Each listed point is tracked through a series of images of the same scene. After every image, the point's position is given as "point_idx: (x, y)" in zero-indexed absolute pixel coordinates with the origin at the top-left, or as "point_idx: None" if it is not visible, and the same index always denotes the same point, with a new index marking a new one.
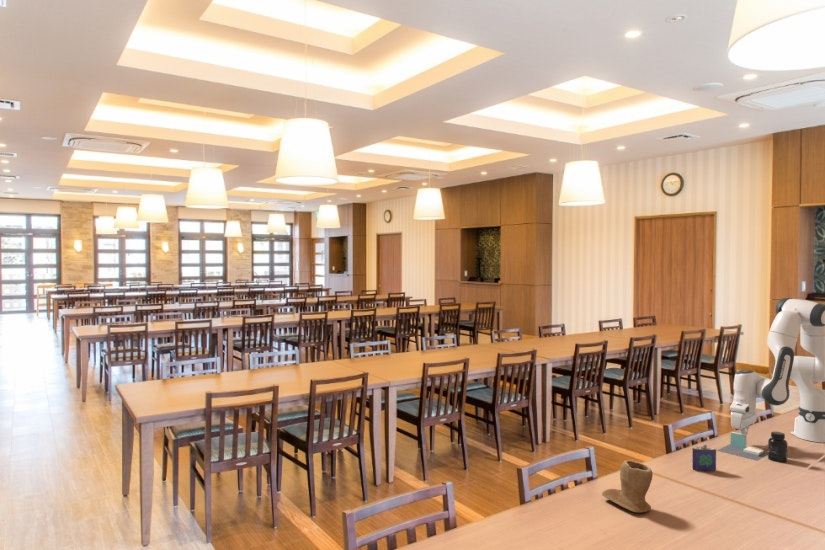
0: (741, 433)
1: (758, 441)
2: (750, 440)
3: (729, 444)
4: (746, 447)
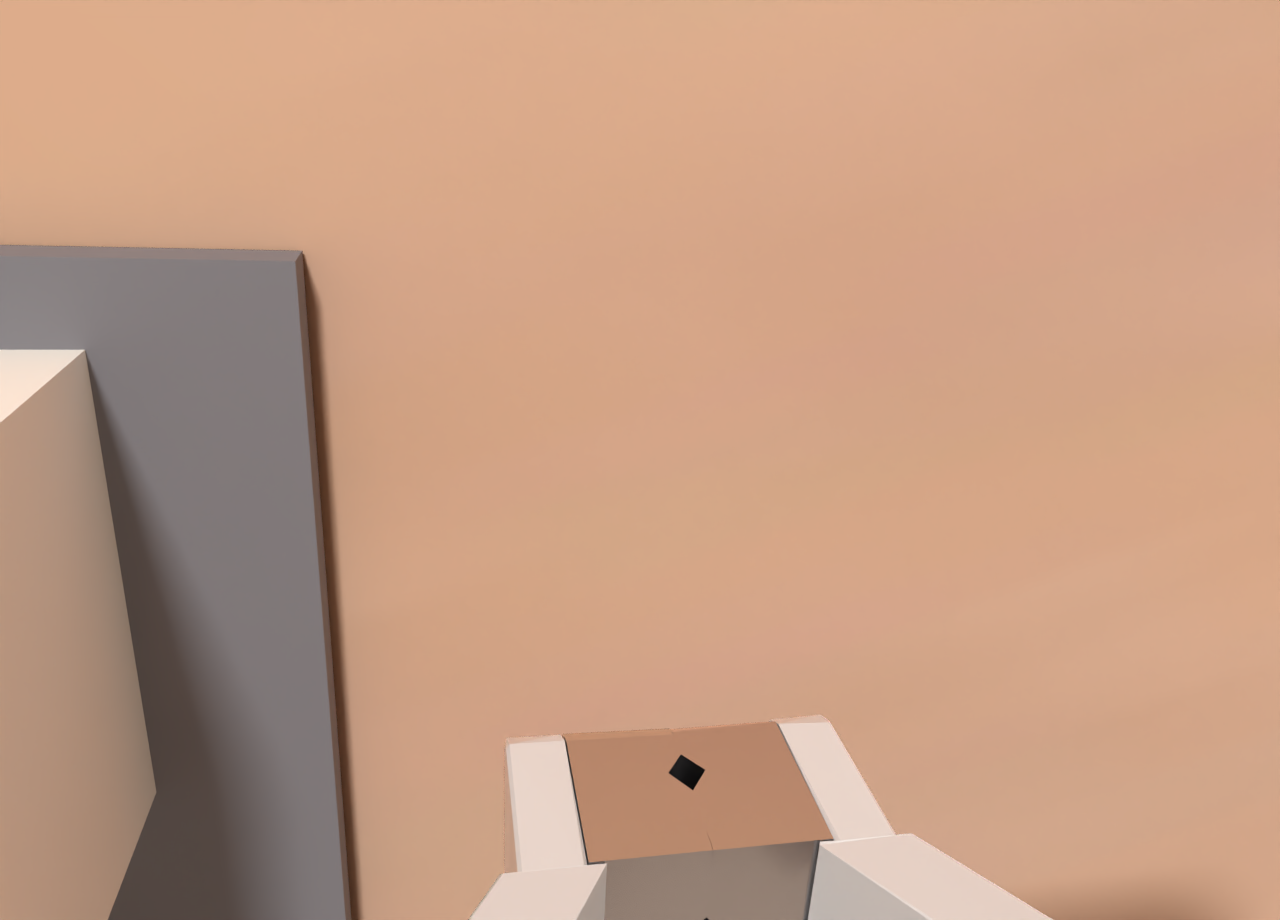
0: (511, 813)
1: (1270, 640)
2: (1252, 479)
3: (34, 267)
4: (248, 763)
